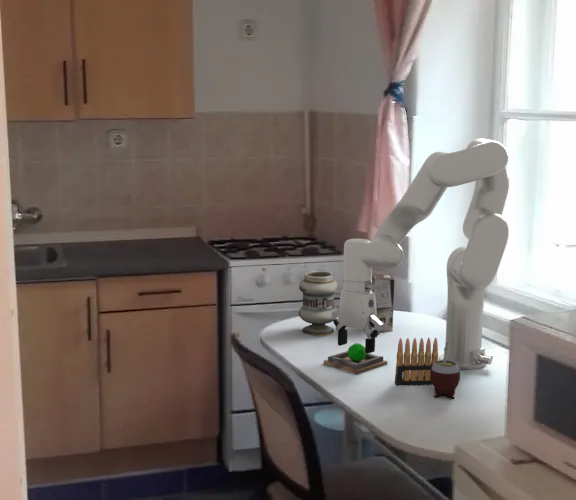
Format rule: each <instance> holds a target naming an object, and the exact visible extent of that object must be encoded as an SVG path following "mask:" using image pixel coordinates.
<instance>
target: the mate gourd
mask: <svg viewBox="0 0 576 500" xmlns="http://www.w3.org/2000/svg"><path fill="white" fill-rule="evenodd" d="M445 342H446V341H445ZM448 343H449V342H446V345H445V346H444V349H443V352H444V353H443V354H444V360H441V361H439V360H438V361H437V362H435V363H434V364H433V366H432V369H431V374H430V378H431V382H432V385H431V386H433V390H434V395H433V398H435V399H439V398H443V397H445V398H447V399H450V400H455V398H456V397H455V396H454V394H455V393H456V389H457V387H458V386H459V383H460V381H461V369H459V367H458V365H457V364H456V363H455V362H452V361H446V355H447V350H448V348H447V347H448Z"/></svg>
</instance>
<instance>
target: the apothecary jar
mask: <svg viewBox="0 0 576 500" xmlns="http://www.w3.org/2000/svg"><path fill="white" fill-rule="evenodd" d="M298 287H299V291H300V292H301V293H302V306H301V307H300V308H299V310H298V316H299V318H300V319H301V320H302V321H303V322H306V323H307V324H309V325H306V326H303V327H302V329H301V332H302V333H303V334H308V335H310V336H319V337H320V336H322V337H323V336H330V335H333V334H334V333H335V329H334V328H333V327H331V326H329V325H327V324H330V323H333V318H332V315H331V313H332V312H334V311H336V310H338V308H337V307H336V306H335V293H336V292H337V291H338V289H339V284H338V281H336V280H335V279H334V275H333V273H332V272H330V271H323V270H321V271H320V270H317V271H307V272H305V274H304V277H303V279H302V280H301V281H300V283H299V285H298Z"/></svg>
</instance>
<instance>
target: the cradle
mask: <svg viewBox="0 0 576 500" xmlns="http://www.w3.org/2000/svg"><path fill="white" fill-rule="evenodd" d="M323 364H324V365H327V366H331V367H333V368H337V369H340V370H343V371H346V372H350V373H353V374H355V375H356V374H357V375H360V374H363V373H365V372H369V371H372V370H374V369H378V368H381V367H383V366H387V365H388V361H387V360H384V356H382V355H376V354H372V353H368V354H367V353H366V357H365V359H363V360H362V361H360V362H354V361H352V360H351V359H350V358H349V355H348V350H346V351H344V352H339V353H337V354H333V355H331V356H328V357H327V359H325V360H323Z"/></svg>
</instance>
